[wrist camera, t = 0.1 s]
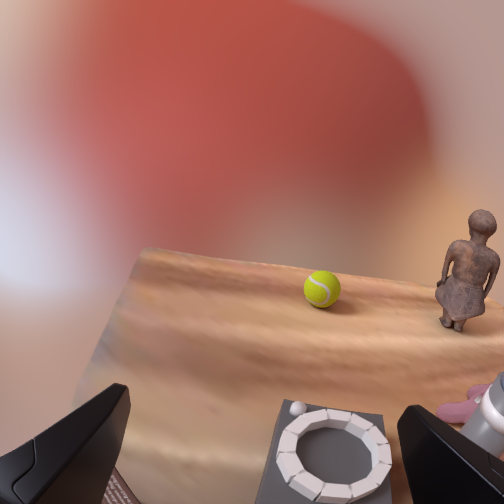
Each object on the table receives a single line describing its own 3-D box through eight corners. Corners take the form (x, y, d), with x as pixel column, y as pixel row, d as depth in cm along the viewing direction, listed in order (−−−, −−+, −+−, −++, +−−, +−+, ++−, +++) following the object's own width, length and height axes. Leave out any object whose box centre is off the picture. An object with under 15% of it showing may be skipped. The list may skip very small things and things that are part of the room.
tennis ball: (295, 306, 52) (303, 271, 50) (306, 293, 57) (314, 262, 55) (330, 318, 49) (341, 283, 47) (338, 304, 55) (347, 272, 53)
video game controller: (442, 440, 24) (485, 419, 19) (431, 410, 27) (472, 386, 22) (477, 414, 27) (513, 392, 23) (467, 388, 30) (502, 365, 26)
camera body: (371, 533, 13) (400, 512, 12) (249, 522, 15) (260, 502, 13) (368, 436, 24) (387, 406, 23) (276, 421, 26) (286, 390, 25)
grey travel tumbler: (464, 496, 14) (553, 398, 10) (425, 513, 14) (525, 413, 10) (447, 461, 19) (519, 362, 15) (409, 473, 19) (487, 369, 15)
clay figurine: (471, 324, 52) (506, 218, 44) (477, 344, 43) (520, 223, 36) (424, 308, 58) (456, 200, 50) (424, 326, 49) (463, 201, 42)
